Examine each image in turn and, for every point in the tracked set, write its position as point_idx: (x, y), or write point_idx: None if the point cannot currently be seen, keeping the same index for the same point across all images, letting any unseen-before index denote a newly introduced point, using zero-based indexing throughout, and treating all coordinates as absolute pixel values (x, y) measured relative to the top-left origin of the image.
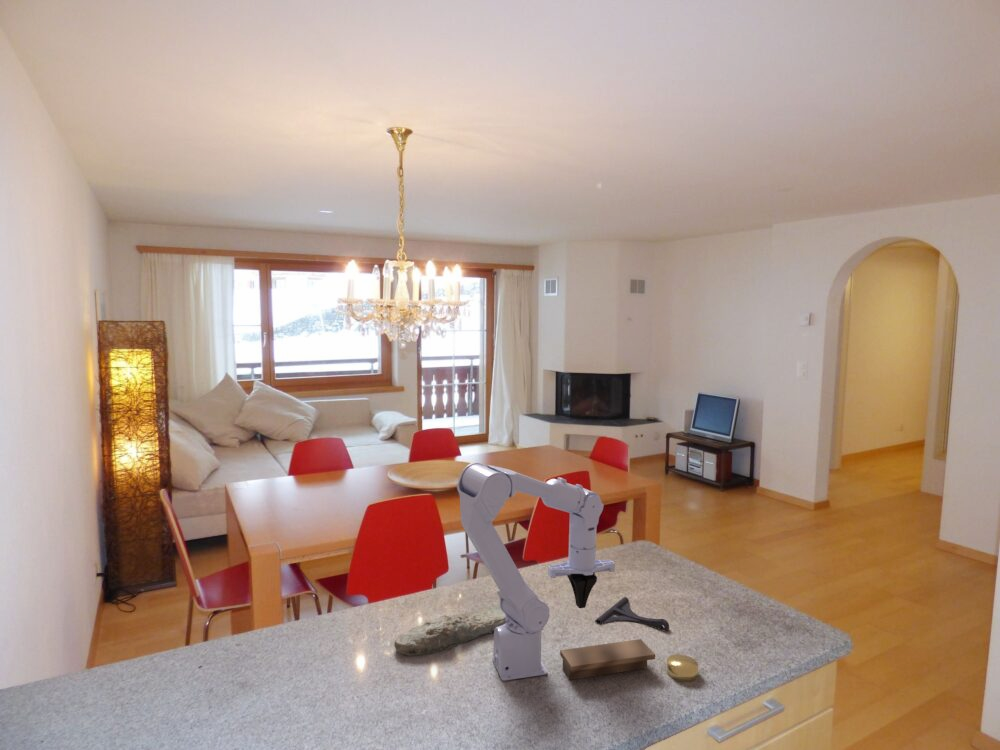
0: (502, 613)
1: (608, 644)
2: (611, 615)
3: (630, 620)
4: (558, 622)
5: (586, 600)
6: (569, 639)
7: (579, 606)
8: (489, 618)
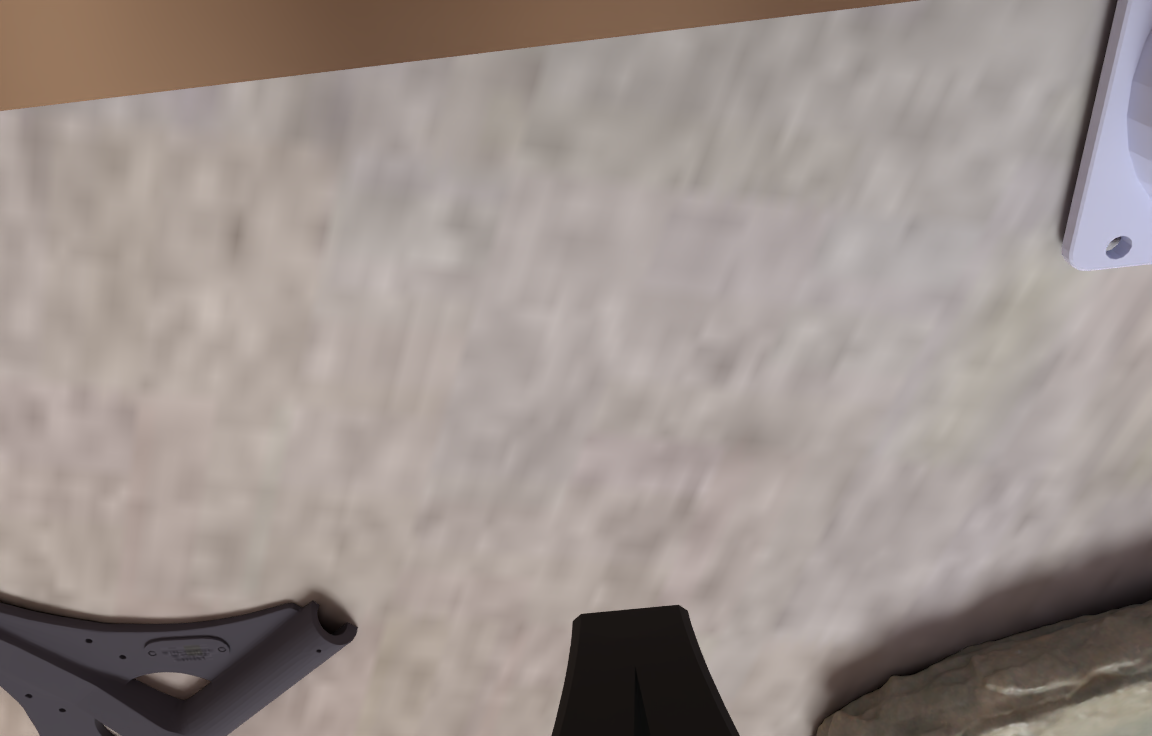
0: (1114, 732)
1: (321, 44)
2: (208, 686)
3: (52, 621)
4: None
5: (571, 729)
6: (644, 439)
7: (693, 632)
8: None
